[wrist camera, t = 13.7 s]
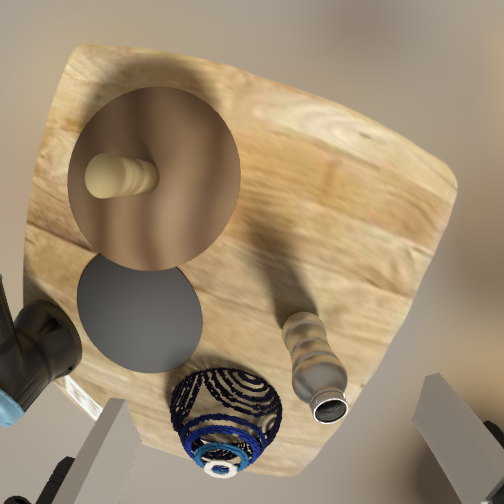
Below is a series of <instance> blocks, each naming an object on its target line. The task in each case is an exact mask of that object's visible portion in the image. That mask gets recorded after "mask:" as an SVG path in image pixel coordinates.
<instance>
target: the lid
mask: <svg viewBox="0 0 504 504" xmlns="http://www.w3.org/2000/svg"><path fill="white" fill-rule="evenodd" d="M240 177H241V170H240V159H239V155H238V151H237V147H236V144H235V141H234V139H233V136H232V134H231V132H230V130H229V128H228V127H227V125H226V123H225V122H224V120H223V119H222V118H221V117H220V115H219V114H218V113H217V112H216V111H215V110H214V109H213V108H212V107H211V106H210V105H209V104H207V103H206V102H204V101H203V100H202V99H200V98H198V97H196V96H194V95H193V94H191V93H188V92H185V91H182V90H179V89H174V88H169V87H148V88H142V89H138V90H134V91H131V92H128V93H126V94H123V95H121V96H119V97H118V98H116V99H114V100H112V101H111V102H109V103H108V104H107V105H105V106H104V107H103V108H102V109H100V110H99V111H98V112H97V113H96V114H95V115H94V116H93V117H92V119H91V120H90V121H89V122H88V123H87V125H86V126H85V128H84V129H83V131H82V132H81V134H80V136H79V138H78V140H77V142H76V144H75V147H74V149H73V152H72V155H71V159H70V163H69V170H68V196H69V202H70V206H71V210H72V213H73V216H74V219H75V221H76V223H77V225H78V227H79V229H80V231H81V232H82V234H83V235H84V237H85V238H86V239H87V241H88V242H89V243H90V244H91V245H92V246H93V247H94V248H95V249H96V250H97V251H98V252H99V253H100V254H102V255H103V256H105V257H106V258H107V259H109V260H111V261H113V262H115V263H117V264H119V265H121V266H124V267H127V268H131V269H136V270H142V271H157V270H165V269H169V268H174V267H176V266H179V265H182V264H184V263H186V262H188V261H190V260H192V259H194V258H195V257H197V256H198V255H200V254H201V253H202V252H204V251H205V250H206V249H207V248H208V247H209V246H210V245H211V244H212V243H213V242H214V241H215V240H216V239H217V238H218V236H219V235H220V234H221V233H222V231H223V230H224V228H225V226H226V225H227V223H228V222H229V220H230V217H231V215H232V213H233V211H234V208H235V205H236V202H237V199H238V194H239V189H240Z"/></svg>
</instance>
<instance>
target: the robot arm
mask: <svg viewBox="0 0 504 504" xmlns="http://www.w3.org/2000/svg"><path fill="white" fill-rule="evenodd" d="M81 358H82V345H81V341H80V338H79V335H78V333H77V331H76V329H75V327H74V325H73V324H72V322H71V321H70V319H69V318H68V317H67V316H66V315H65V314H64V313H63V312H62V311H61V310H60V309H59V308H58V307H56V306H55V305H53V304H51V303H49V302H46V301H42V300H37V301H33V302H31V303H29V304H28V305H26V306H25V307H24V308H23V309H22V310H21V311H20V312H19V315H18V316H17V318H16V319H15V321H14V322H13V320H12V317H11V314H10V310H9V307H8V303H7V299H6V296H5V292H4V288H3V284H2V275H1V274H0V426H2V427H9V426H12V425H13V424H14V423H15V422H16V421H17V420H18V419H19V418H20V417H22V416H23V415H24V412H26V410H27V409H28V408H29V407H30V405H31V404H32V403H33V402H34V401H35V399H36V398H37V397H38V396H39V395H40V393H41V392H42V391H43V390H44V389H45V388H46V386H47V385H48V384H49V383H50V382H52V381H54V380H56V379H59V378H61V377H64V376H66V375H68V374H70V373H71V372H72V371H73V370H74V369H75V368H76V367H77V366H78V365H79V363H80V361H81ZM412 420H413V421H414V423H415V424H416V426H417V428H418V429H419V431H420V432H421V434H422V436H423V437H424V439H425V440H426V442H427V444H428V446H429V447H430V449H431V450H432V452H433V454H434V455H435V457H436V459H437V460H438V462H439V464H440V465H441V467H442V469H443V471H444V472H445V474H446V476H447V477H448V479H449V481H450V482H451V484H452V486H453V488H454V490H455V491H456V493H457V495H458V497H459V499H460V500H461V502H462V504H487V503H488V502H489V501H490V500H491V501H492V502H493V504H504V434H503V432H502V431H501V429H500V428H499V427H498V426H497V425H495V424H494V423H492V422H490V421H486V422H484V423H482V422H481V421H480V419H479V418H478V417H477V416H476V415H475V414H474V412H473V411H472V410H471V409H470V408H469V406H468V405H467V404H466V403H465V402H464V401H463V400H462V398H461V397H460V396H459V395H458V394H457V393H456V392H455V390H454V389H453V388H452V387H451V386H450V385H449V384H448V382H447V381H446V380H445V379H444V378H443V377H442V376H441V375H440V374H439V373H436V374H433V375H429V376H426V377H425V381H424V384H423V388H422V391H421V395H420V398H419V401H418V404H417V407H416V410H415V413H414V417H413V419H412ZM141 442H142V440H141V438H140V436H139V433H138V431H137V428H136V426H135V423H134V421H133V418H132V416H131V413H130V410H129V408H128V405H127V402H126V400H125V399H117V398H110V399H109V401H108V402H107V404H106V406H105V408H104V409H103V411H102V413H101V414H100V416H99V418H98V420H97V421H96V423H95V425H94V427H93V428H92V430H91V432H90V434H89V435H88V437H87V439H86V441H85V443H84V444H83V446H82V448H81V450H80V451H79V453H78V455H77V457H76V459H75V458H72V457H68V456H67V457H65V458H64V459H63V460H62V461H60V462H59V463H58V465H57V466H56V468H55V470H54V471H53V474H52V475H51V477H50V478H49V481H48V482H47V484H46V486H45V487H44V489H43V491H42V493H41V494H40V496H39V498H38V500H37V502H36V504H119V502H120V499H121V496H122V494H123V491H124V488H125V485H126V482H127V480H128V477H129V474H130V471H131V469H132V466H133V463H134V460H135V458H136V455H137V452H138V449H139V447H140V444H141ZM4 504H31V503H30V502H29V501H28V500H27V499H26V498H24V497H21V496H12V497H9V498H8V499H7V500H6V501H5V502H4Z"/></svg>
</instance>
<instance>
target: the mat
mask: <svg viewBox="0 0 504 504" xmlns="http://www.w3.org/2000/svg"><path fill="white" fill-rule="evenodd" d="M77 307H78V313H79V317H80V320H81V323H82V325H83V328H84V330H85V332H86V333H87V335H88V337H89V338H90V340H91V341H92V343H93V344H94V345H95V346H96V347H97V349H98V350H99V351H100V352H101V353H103V354H104V355H105V356H106V357H107V358H109V359H110V360H111V361H113V362H115V363H116V364H118V365H120V366H122V367H124V368H127V369H130V370H132V371H137V372H141V373H160V372H165V371H169V370H172V369H174V368H176V367H178V366H180V365H181V364H183V363H184V362H185V361H186V360H187V359H189V357H190V356H191V355H192V354H193V352H194V351H195V349H196V347H197V345H198V343H199V340H200V337H201V333H202V324H203V321H202V311H201V306H200V303H199V300H198V297H197V295H196V293H195V291H194V289H193V287H192V285H191V284H190V282H189V281H188V279H187V278H186V277H185V276H184V274H183V273H182V272H181V271H180V270H179V269H178V268H177V267H174V268H169V269H165V270H157V271H142V270H136V269H131V268H127V267H124V266H121V265H119V264H117V263H115V262H113V261H111V260H109V259H107V258H106V257H105V256H103V255H100V256H98V257H97V258H96V259H94V260H93V261H92V262H91V263H90V264H89V265H88V267H87V268H86V270H85V271H84V273H83V275H82V277H81V279H80V282H79V286H78V291H77Z"/></svg>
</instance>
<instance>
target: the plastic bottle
mask: <svg viewBox="0 0 504 504" xmlns="http://www.w3.org/2000/svg"><path fill="white" fill-rule="evenodd" d="M282 338H283V342H284V344H285V346H286V347H287V349H288V350H289V353H290V355H291V360H292V386H293V390H294V392H295V394H296V395H297V396H298V398H299V399H300V400H301V401H303V402H304V403H306V404H308V405H309V406H310V409H311V411H312V413H313V417H314V418H315V420H316V421H318V422H320V423H323V424H330V423H334V422H337V421H339V420H341V419H342V418H343V417H344V416H345V415H346V413H347V411H348V404H347V402H346V397H345V395H344V391H345V389H346V387H347V381H348V376H347V371H346V369H345V367H344V365H343V364H342V363H341V361H340V360H339V359H338V358H337V356H336V355H335V354H334V353H333V351H332V349H331V348H330V346H329V344H328V340H327V334H326V329H325V326H324V323H323V322H322V321H321V320H320V319H319V318H318V317H317V316H316V315H315V314H313V313H310V312H305V311H304V312H297V313H295V314H293V315H291V316H290V317H289V318H288V319H287V320H286V321H285V323H284V325H283V330H282Z"/></svg>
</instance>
